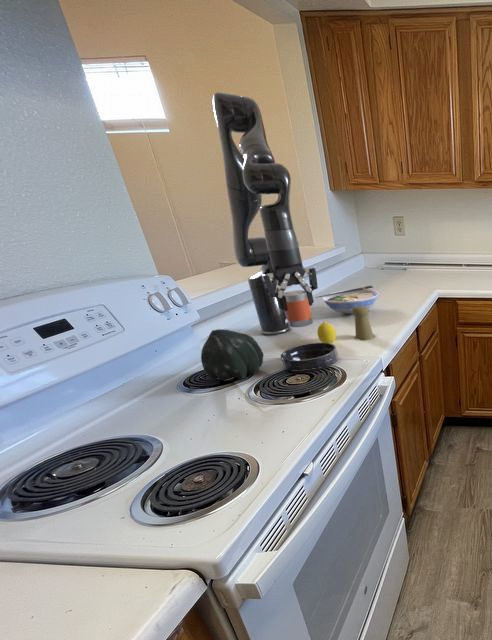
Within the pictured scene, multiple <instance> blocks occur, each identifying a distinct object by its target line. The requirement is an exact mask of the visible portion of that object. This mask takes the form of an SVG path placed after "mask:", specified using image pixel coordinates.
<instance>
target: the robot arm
mask: <svg viewBox="0 0 492 640" xmlns="http://www.w3.org/2000/svg"><path fill="white" fill-rule="evenodd" d="M212 97H213V98H212V105H213V106H212V107H213V112H214V118H215V122H216V127H217V134H218V136H219V143H220V147H221V154H222V159H223V169H224V178H225V186H226V192H227V198H228V203H229V210H230V215H231V225H232V241H233V244H232V245H233V252H234V256H235V259H236V261H237V263H238V265H239V266H241V267H242V268H252V267H259V266H261V268H260V269H259V270H258V272H256V273H255V274H253V275H252V276H250V277H249V278H248V279H247V281H248V282H247V283H248V286H249V290H250V293H251V296H252V300H253V304H254V308H255V311H256V314H257V318H258V323H259V326H260V329H261V334H263V335H267V336H271V335H272V336H273V335H279V334H285V333H286V332H288V331H290V330H291V327H290V326H289V324H288V320H287V316H286V312H285V311H287V308H286V304H285V300H284V298H283V294H284V293H285V292H286V290H287V287H291V286H293V285H294V286H297V285H299V286H300V287H301V288H302V289H303V291H306V292H307V297H308V301H309V305H310V307H312V306H313V304H314V296H313V292H314V291H315V290H318V288H319V285H318V278H317V269H316V268H315V267H311V266H308V267H304V265H303V261H302V256H301V255H302V254H301V251H300V247H299V245H300V243H299V241H298V237H297V235H296V232H295V228H294V224H293V219H292V213H291V206H290V197H291V196H290V195H291V187H292V186H291V185H292V184H291V183H292V182H291V181H292V177H291V174H290V171H289V170H288V169H287V167H286V166H285V165H283V164H282V163H277V162H276V160H275V158H274V155H273V153H272V151H271V148H270V146H269V144H268V140H267V134H266V130H265V126H264V121H263V117H262V113H261V110H260V107H259V105H258V103H257V102H256V101H255V100H254V98H252V97H248V96H245V95H239V94H234V93H227V92H220V91H219V92H217V91H216V92H214V94H213V96H212ZM232 133H237V134H242V135H241V138H240V139H239V148H238V147H237V145H236V143H235V141H234V139H233V135H232ZM263 195H277V199H276V201H274V202H272V203H268V204H264V205H263ZM258 213H259V217H260V219H261V224H262V227H263V230H264V231H263V232H264V236H258V237H250V238H249V231H250V228H251V225H252V223H253V221H254V220H255V218H256V216H257V215H258ZM305 275H307V276H308V282H309V284H308V283H307V281H306V280H305V279H304V276H305Z"/></svg>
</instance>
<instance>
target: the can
mask: <svg viewBox="0 0 492 640" xmlns="http://www.w3.org/2000/svg"><path fill="white" fill-rule="evenodd" d="M283 298H284V300H285V304H286V308H287V311H285V312H286V316H287V320H288V324H289V326H290V328H304V327H307V326H310V325H312V324H313V323H314V321H313V315H312V310H311V306H310V305H309V301H308V297H307V292H306V291H305V290H304V289H303V290H301V289H300V290H299V289H298V290H297V289H295V290H290V291H284V294H283Z"/></svg>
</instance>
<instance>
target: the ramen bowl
mask: <svg viewBox="0 0 492 640" xmlns="http://www.w3.org/2000/svg"><path fill="white" fill-rule="evenodd" d="M373 288H374V286H373V285H366V286H362V287H356V288H353V289H352V288H351V289H346V290H340V291H334V292H331V293H329V294H324V295H320V296H315V299H317V298H321V299H322V300H323V301H324V303H325V304H326V306H328V307H329V308H330V309H331V310H332V311H334V312H338V313H343V314H345V315H353V313H352V310H353V308H354V307H356V306H366V307H367V308H368V309H370V308H372V307H373V306H374V305H375V303H376V302H377V300H378V297H379V295H380V291H378V290H376V289H373Z"/></svg>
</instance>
